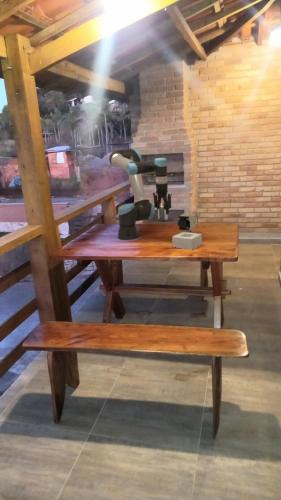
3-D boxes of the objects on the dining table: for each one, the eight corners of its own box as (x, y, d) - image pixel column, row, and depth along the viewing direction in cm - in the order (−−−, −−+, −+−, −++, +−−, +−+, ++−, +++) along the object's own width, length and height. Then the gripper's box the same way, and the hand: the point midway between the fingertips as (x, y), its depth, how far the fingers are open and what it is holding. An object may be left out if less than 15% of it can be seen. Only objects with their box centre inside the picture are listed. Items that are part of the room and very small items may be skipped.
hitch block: (172, 247, 245) (172, 236, 243) (183, 241, 255) (183, 231, 253) (191, 250, 237) (191, 239, 235) (202, 244, 246) (201, 234, 244)
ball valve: (189, 240, 256) (188, 214, 251) (177, 239, 261) (176, 214, 255) (199, 234, 271) (199, 209, 266) (188, 233, 275) (188, 208, 270)
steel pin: (158, 221, 251) (157, 203, 247) (162, 220, 254) (161, 202, 250) (164, 222, 248) (163, 204, 244) (168, 220, 251) (167, 202, 248)
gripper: (147, 183, 246) (149, 218, 253) (169, 184, 235) (171, 221, 242) (153, 181, 251) (155, 216, 258) (176, 182, 241) (177, 218, 248)
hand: (163, 218), depth 250 cm, fingers closed on steel pin, 4 cm apart
